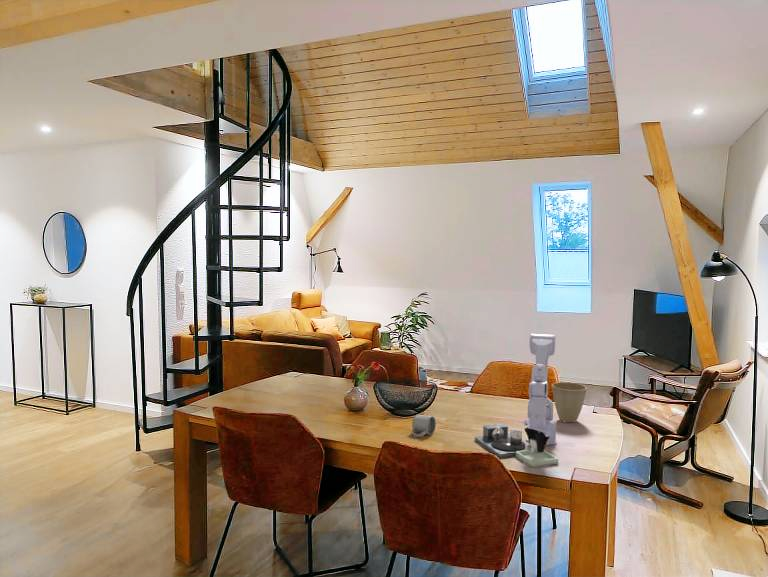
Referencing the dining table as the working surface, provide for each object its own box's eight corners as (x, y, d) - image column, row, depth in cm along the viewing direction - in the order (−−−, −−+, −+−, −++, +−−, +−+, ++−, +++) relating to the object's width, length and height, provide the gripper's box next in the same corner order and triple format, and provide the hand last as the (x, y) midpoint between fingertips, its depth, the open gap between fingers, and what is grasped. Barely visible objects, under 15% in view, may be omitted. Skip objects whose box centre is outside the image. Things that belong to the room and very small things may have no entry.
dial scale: (509, 436, 238) (509, 422, 237) (536, 453, 219) (537, 438, 219) (474, 440, 233) (475, 426, 232) (499, 458, 214) (500, 442, 213)
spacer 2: (538, 448, 214) (538, 437, 214) (544, 453, 210) (544, 441, 210) (527, 449, 213) (528, 437, 213) (533, 454, 209) (533, 441, 209)
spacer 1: (517, 439, 227) (518, 428, 227) (524, 443, 223) (524, 432, 223) (508, 441, 226) (508, 429, 226) (514, 444, 222) (514, 433, 221)
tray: (540, 453, 219) (540, 448, 219) (558, 463, 209) (558, 458, 208) (515, 456, 216) (515, 451, 215) (532, 467, 205) (532, 462, 205)
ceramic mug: (419, 428, 248) (419, 411, 247) (436, 431, 243) (436, 414, 243) (407, 436, 238) (407, 418, 238) (425, 439, 234) (425, 421, 234)
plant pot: (587, 426, 251) (588, 391, 250) (552, 424, 254) (553, 389, 253) (582, 416, 266) (584, 382, 265) (549, 414, 269) (550, 381, 267)
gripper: (517, 409, 216) (516, 444, 217) (539, 420, 203) (538, 457, 204) (533, 407, 218) (532, 442, 220) (556, 418, 205) (555, 455, 206)
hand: (536, 449), depth 212 cm, fingers closed on spacer 2, 4 cm apart
